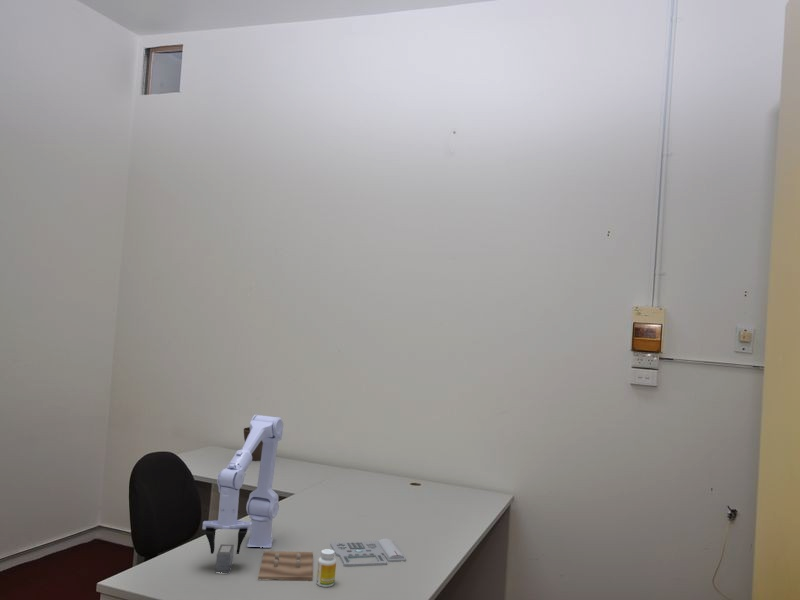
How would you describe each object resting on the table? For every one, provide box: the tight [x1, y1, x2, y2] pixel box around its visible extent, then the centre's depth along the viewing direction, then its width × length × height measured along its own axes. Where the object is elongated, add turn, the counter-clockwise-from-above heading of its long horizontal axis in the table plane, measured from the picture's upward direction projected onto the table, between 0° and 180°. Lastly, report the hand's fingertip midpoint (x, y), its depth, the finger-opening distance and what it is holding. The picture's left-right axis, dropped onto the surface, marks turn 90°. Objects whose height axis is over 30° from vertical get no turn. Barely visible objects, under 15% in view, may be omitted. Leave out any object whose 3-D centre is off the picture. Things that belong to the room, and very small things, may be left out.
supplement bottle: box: [316, 548, 337, 588], centre depth 188 cm, size 5×5×10 cm
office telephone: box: [329, 538, 407, 568], centre depth 214 cm, size 23×3×20 cm
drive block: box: [215, 543, 235, 574], centre depth 194 cm, size 8×4×6 cm, turn 8°
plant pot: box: [243, 426, 263, 462], centre depth 336 cm, size 15×15×16 cm
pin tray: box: [257, 550, 314, 582], centre depth 199 cm, size 20×16×3 cm
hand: (225, 552), depth 194 cm, fingers open, 7 cm apart
